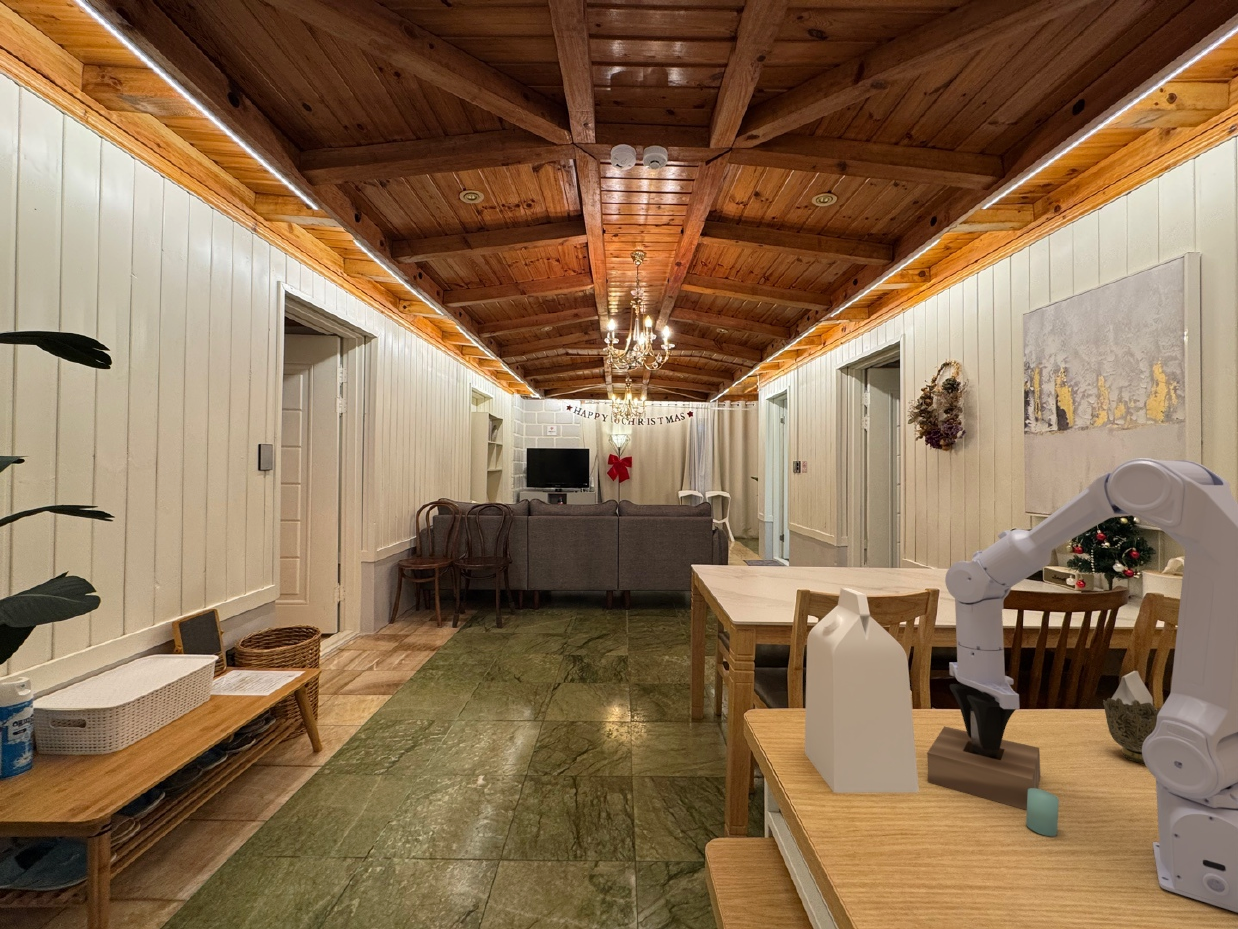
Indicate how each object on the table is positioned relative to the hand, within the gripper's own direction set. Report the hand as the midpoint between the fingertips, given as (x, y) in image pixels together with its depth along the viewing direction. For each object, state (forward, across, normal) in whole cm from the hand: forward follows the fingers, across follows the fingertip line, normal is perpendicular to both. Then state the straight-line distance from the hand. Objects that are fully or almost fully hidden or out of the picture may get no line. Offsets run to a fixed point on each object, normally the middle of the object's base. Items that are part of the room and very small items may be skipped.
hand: (983, 743), depth 81 cm
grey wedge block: (+5, +18, -33) cm, 38 cm away
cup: (+5, +8, -26) cm, 28 cm away
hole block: (+5, 0, 0) cm, 5 cm away
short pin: (+5, -12, 0) cm, 13 cm away
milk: (+5, +1, +17) cm, 18 cm away
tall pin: (+3, 0, 0) cm, 3 cm away
